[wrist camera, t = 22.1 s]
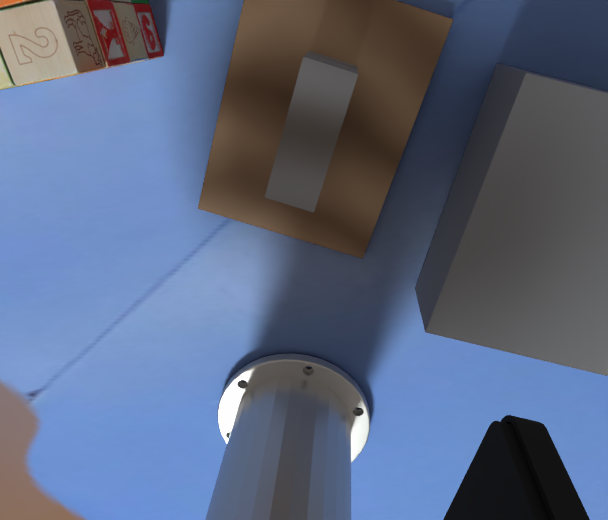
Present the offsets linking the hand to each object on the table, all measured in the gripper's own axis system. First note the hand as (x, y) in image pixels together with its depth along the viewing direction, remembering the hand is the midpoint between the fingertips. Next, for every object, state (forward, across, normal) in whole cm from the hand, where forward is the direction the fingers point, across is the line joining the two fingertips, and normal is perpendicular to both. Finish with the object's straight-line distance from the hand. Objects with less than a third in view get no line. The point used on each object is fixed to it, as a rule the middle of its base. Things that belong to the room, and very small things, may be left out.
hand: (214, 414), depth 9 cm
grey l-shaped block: (+28, -19, +2) cm, 34 cm away
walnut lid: (+29, 0, 0) cm, 29 cm away
